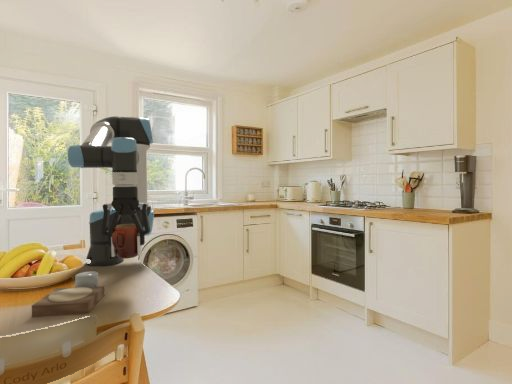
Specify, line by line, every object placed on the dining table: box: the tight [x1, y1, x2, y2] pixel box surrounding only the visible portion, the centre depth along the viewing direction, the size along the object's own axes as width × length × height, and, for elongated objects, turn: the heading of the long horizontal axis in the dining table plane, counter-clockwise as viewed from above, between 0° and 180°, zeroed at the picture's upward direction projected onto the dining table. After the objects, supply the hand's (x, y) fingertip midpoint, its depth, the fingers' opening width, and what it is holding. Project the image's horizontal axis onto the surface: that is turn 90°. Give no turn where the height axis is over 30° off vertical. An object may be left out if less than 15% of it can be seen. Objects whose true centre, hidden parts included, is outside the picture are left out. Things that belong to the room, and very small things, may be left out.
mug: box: [112, 224, 139, 260], centre depth 107 cm, size 12×9×10 cm
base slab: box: [31, 285, 105, 318], centre depth 94 cm, size 14×14×3 cm
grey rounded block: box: [74, 270, 99, 287], centre depth 112 cm, size 7×7×4 cm
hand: (126, 255), depth 107 cm, fingers closed on mug, 7 cm apart
